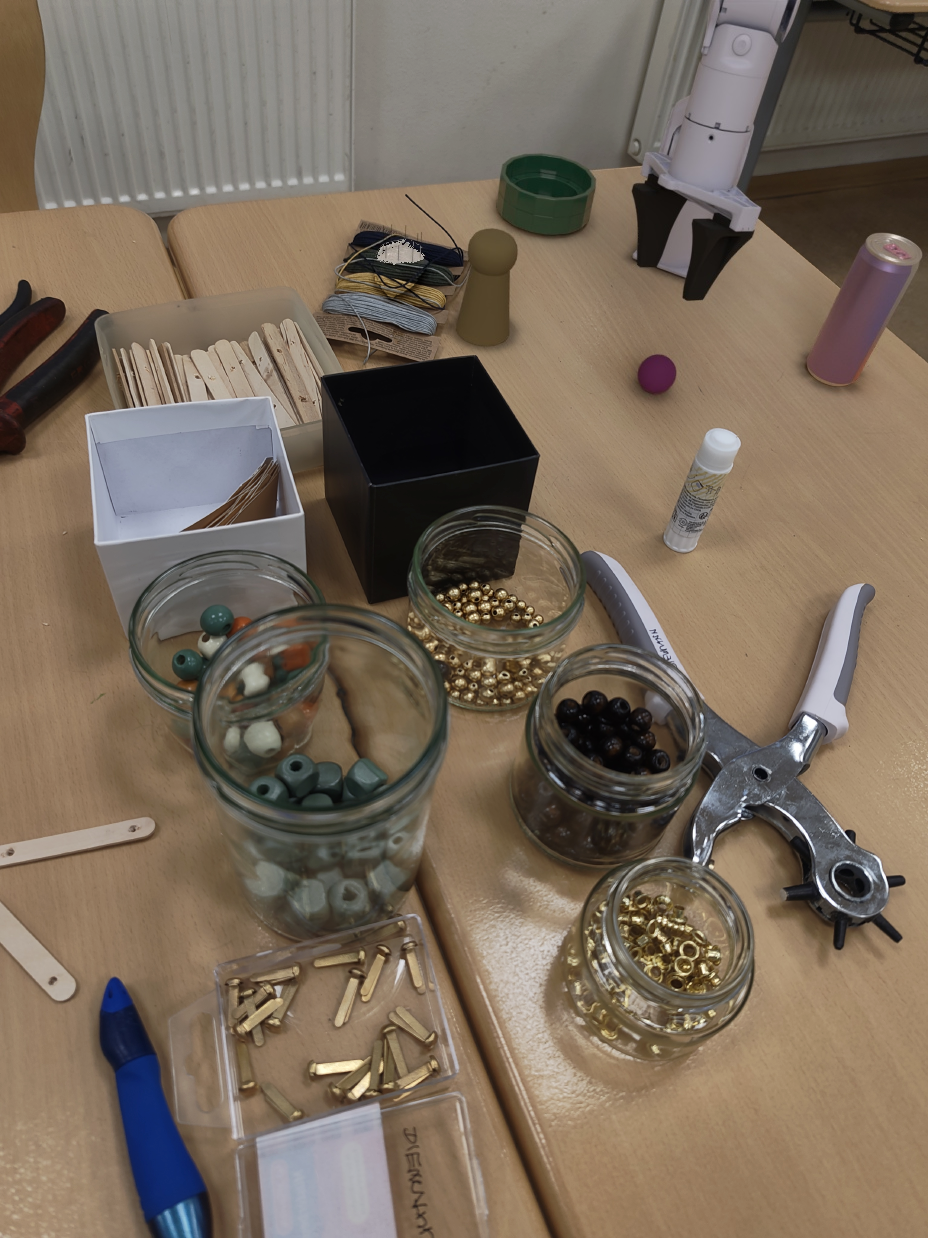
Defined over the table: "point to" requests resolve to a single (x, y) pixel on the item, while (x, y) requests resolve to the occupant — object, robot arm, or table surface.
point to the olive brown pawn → (487, 288)
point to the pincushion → (399, 251)
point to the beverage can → (863, 308)
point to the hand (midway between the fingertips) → (669, 281)
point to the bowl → (545, 193)
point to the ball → (657, 373)
